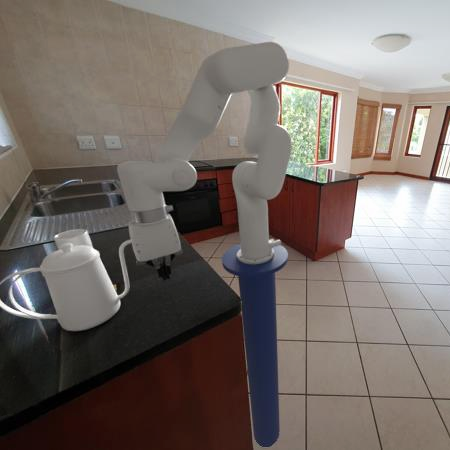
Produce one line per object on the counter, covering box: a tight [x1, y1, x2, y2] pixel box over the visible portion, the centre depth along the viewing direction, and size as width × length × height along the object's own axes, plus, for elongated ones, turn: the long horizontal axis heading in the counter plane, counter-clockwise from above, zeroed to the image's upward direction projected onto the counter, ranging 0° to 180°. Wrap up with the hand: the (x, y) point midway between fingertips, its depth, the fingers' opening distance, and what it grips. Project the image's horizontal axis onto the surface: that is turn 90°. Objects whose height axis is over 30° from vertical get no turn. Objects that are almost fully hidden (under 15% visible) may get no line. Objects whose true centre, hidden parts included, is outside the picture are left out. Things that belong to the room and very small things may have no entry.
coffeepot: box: [0, 239, 132, 332], centre depth 53 cm, size 11×25×19 cm, turn 126°
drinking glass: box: [53, 228, 94, 250], centre depth 65 cm, size 7×7×15 cm
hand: (165, 277), depth 64 cm, fingers closed
